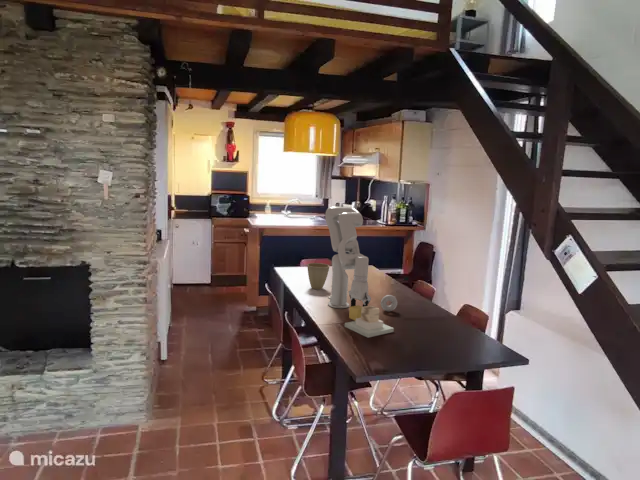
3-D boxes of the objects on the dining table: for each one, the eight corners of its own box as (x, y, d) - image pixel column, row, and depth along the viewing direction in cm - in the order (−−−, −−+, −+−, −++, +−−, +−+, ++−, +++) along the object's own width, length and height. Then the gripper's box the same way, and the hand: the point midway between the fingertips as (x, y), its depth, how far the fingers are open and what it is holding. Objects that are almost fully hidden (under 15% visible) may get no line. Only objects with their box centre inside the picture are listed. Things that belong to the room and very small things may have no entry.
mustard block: (349, 317, 268) (349, 306, 267) (357, 316, 272) (358, 305, 271) (356, 321, 263) (357, 309, 262) (365, 319, 267) (366, 308, 266)
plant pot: (327, 291, 320) (329, 268, 317) (305, 290, 320) (306, 266, 317) (328, 286, 335) (329, 263, 332) (306, 284, 335) (307, 262, 332)
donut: (380, 312, 283) (382, 295, 281) (379, 310, 286) (380, 293, 284) (397, 312, 284) (398, 295, 282) (395, 310, 287) (397, 294, 286)
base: (344, 326, 253) (345, 317, 253) (369, 321, 264) (370, 312, 263) (367, 337, 239) (368, 328, 238) (393, 331, 250) (394, 322, 249)
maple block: (360, 318, 252) (361, 306, 251) (370, 317, 256) (371, 305, 255) (369, 322, 247) (370, 310, 246) (378, 320, 250) (379, 308, 249)
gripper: (345, 276, 268) (343, 306, 271) (366, 282, 255) (364, 313, 257) (355, 275, 273) (353, 304, 275) (376, 281, 259) (374, 312, 261)
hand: (358, 309), depth 266 cm, fingers open, 9 cm apart
